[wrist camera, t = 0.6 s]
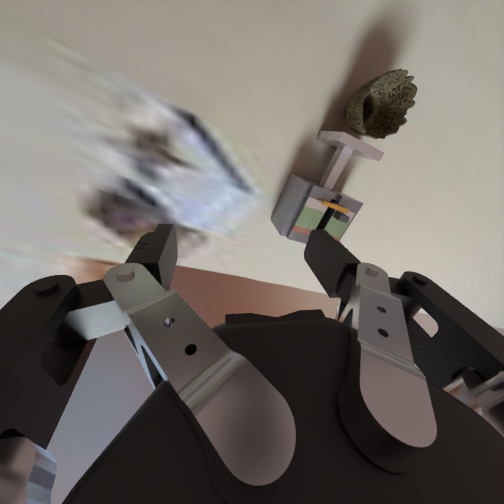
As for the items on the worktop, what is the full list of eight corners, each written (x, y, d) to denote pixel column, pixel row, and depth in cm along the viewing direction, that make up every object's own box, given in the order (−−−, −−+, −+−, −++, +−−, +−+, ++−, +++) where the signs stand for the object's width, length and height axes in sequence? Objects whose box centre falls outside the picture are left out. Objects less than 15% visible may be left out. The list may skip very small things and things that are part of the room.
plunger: (321, 130, 33) (351, 132, 26) (357, 148, 35) (394, 154, 28) (294, 188, 37) (314, 203, 30) (328, 200, 40) (353, 216, 33)
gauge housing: (290, 172, 36) (308, 183, 29) (341, 192, 40) (367, 205, 33) (270, 219, 40) (281, 237, 34) (318, 233, 44) (336, 251, 38)
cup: (344, 74, 30) (383, 58, 23) (383, 88, 31) (429, 78, 25) (325, 130, 33) (353, 132, 27) (360, 140, 35) (395, 144, 28)
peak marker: (336, 211, 33) (341, 214, 31) (344, 214, 33) (350, 217, 32) (333, 216, 33) (338, 220, 32) (341, 219, 34) (346, 223, 32)
